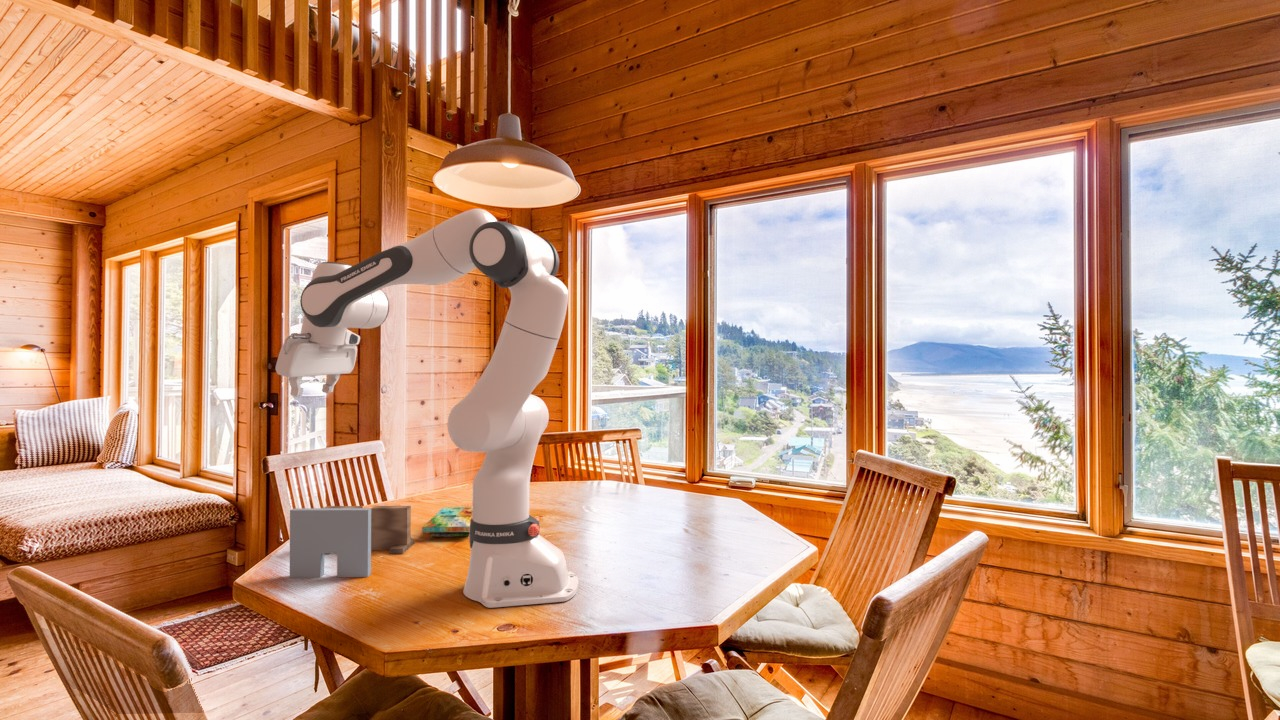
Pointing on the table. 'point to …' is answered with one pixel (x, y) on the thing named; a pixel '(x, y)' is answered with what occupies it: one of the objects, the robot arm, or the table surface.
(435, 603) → the table surface
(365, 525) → the grey notched slab
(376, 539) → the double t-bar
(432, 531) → the puzzle game
